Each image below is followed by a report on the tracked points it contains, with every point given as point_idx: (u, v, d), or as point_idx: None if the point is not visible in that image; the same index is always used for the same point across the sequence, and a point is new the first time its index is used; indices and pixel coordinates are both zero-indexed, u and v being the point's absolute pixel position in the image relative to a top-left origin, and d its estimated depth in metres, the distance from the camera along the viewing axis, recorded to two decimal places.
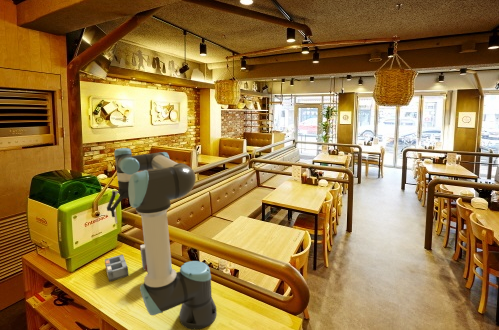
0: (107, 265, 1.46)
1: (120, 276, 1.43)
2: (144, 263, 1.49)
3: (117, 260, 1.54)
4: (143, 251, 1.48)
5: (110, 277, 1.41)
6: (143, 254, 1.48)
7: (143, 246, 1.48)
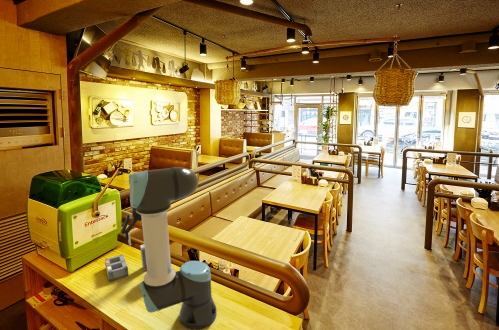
0: (107, 265, 1.46)
1: (120, 276, 1.43)
2: (144, 263, 1.49)
3: (117, 260, 1.54)
4: (143, 251, 1.48)
5: (110, 277, 1.41)
6: (143, 254, 1.48)
7: (143, 246, 1.48)
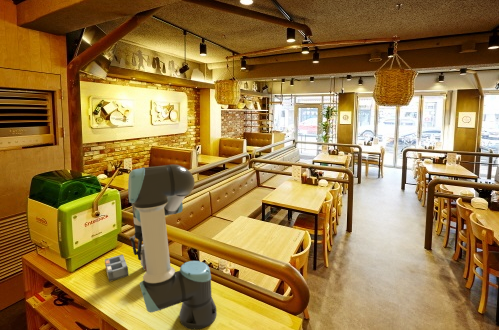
0: (107, 265, 1.46)
1: (120, 276, 1.43)
2: (144, 263, 1.49)
3: (117, 260, 1.54)
4: None
5: (110, 277, 1.41)
6: (143, 254, 1.48)
7: (143, 246, 1.48)
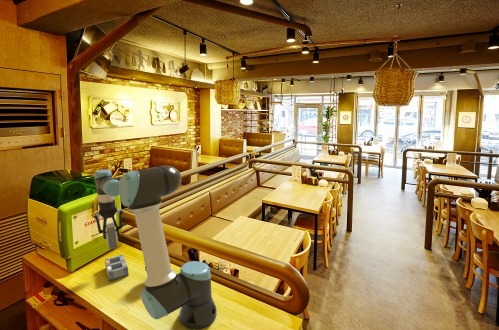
0: (107, 265, 1.46)
1: (120, 276, 1.43)
2: (109, 242, 1.46)
3: (117, 260, 1.54)
4: (109, 229, 1.44)
5: (110, 277, 1.41)
6: (108, 232, 1.45)
7: (108, 224, 1.45)
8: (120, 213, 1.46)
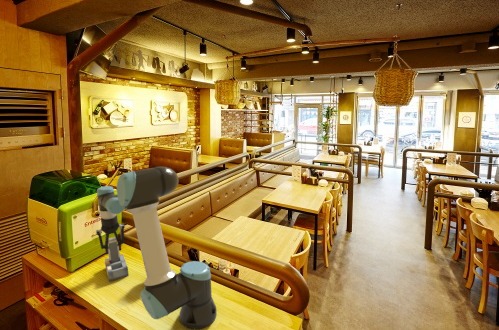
0: (107, 265, 1.46)
1: (120, 276, 1.43)
2: (112, 257, 1.48)
3: None
4: (111, 245, 1.46)
5: (110, 277, 1.41)
6: (110, 248, 1.47)
7: (110, 240, 1.47)
8: (122, 228, 1.48)
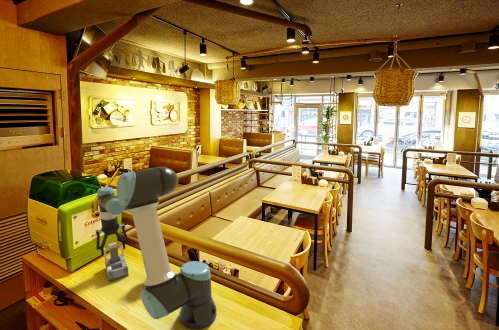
0: (107, 265, 1.46)
1: (120, 276, 1.43)
2: (112, 262, 1.48)
3: None
4: (112, 250, 1.47)
5: (110, 277, 1.41)
6: (111, 253, 1.47)
7: (111, 245, 1.48)
8: (123, 228, 1.49)
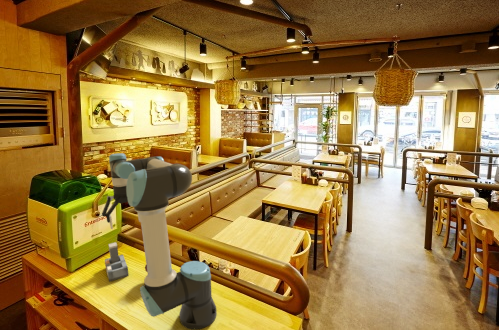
0: (107, 265, 1.46)
1: (120, 276, 1.43)
2: (112, 262, 1.48)
3: None
4: (112, 250, 1.47)
5: (110, 277, 1.41)
6: (111, 253, 1.47)
7: (111, 245, 1.48)
8: None
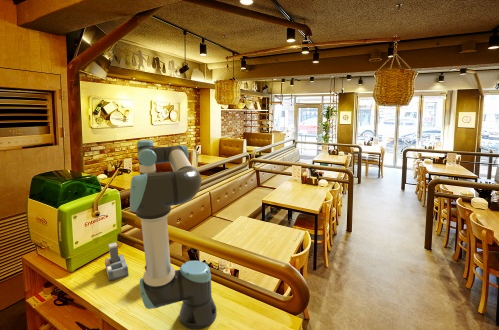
0: (107, 265, 1.46)
1: (120, 276, 1.43)
2: (112, 262, 1.48)
3: None
4: (112, 250, 1.47)
5: (110, 277, 1.41)
6: (111, 253, 1.47)
7: (111, 245, 1.48)
8: None
